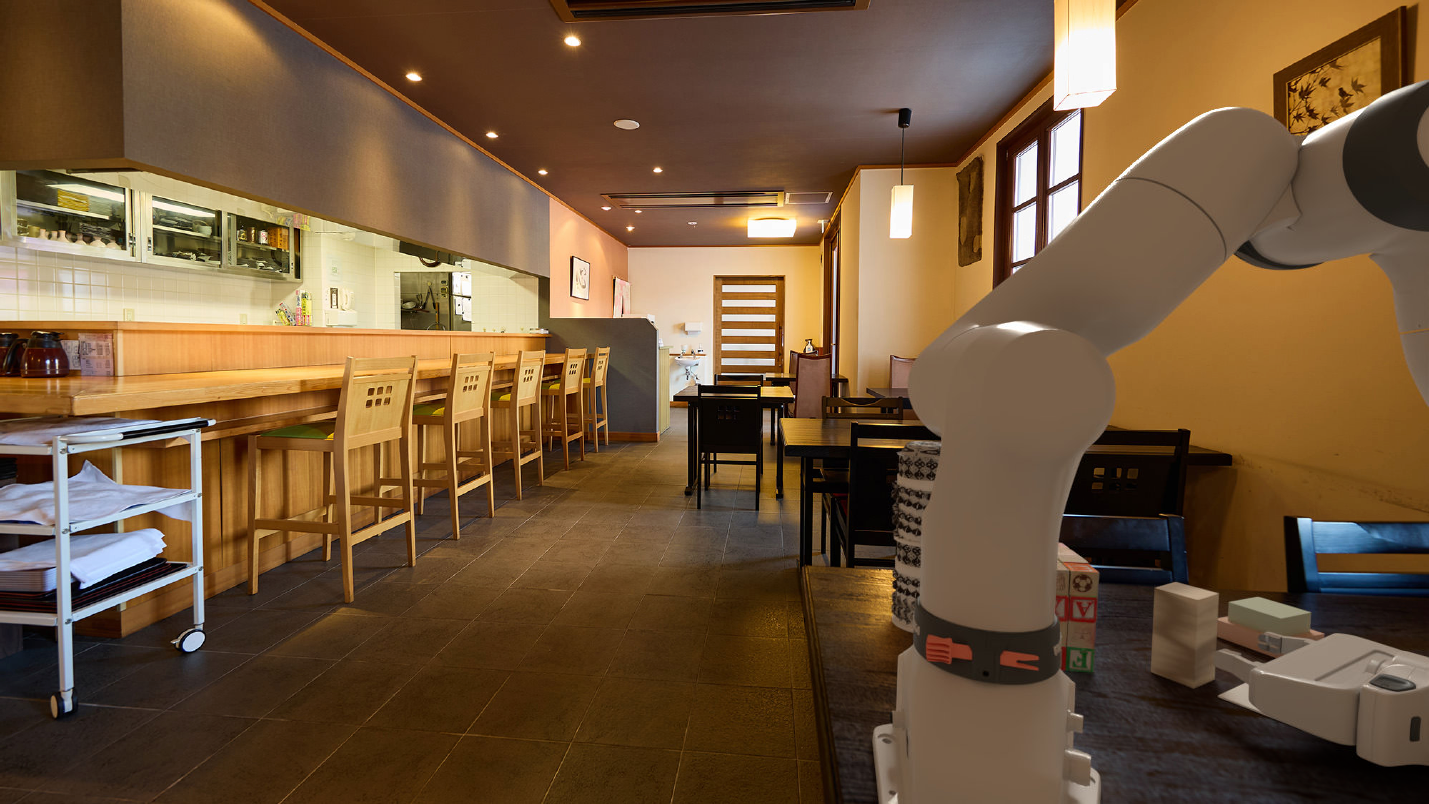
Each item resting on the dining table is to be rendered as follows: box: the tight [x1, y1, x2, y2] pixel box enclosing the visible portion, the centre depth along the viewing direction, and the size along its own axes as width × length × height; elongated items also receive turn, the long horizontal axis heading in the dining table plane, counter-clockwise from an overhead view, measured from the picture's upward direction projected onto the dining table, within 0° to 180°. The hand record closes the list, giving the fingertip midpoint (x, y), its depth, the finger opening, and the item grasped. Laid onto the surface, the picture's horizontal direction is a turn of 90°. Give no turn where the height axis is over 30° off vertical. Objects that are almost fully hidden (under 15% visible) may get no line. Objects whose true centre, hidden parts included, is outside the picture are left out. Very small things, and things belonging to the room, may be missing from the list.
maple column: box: [1150, 581, 1220, 689], centre depth 76 cm, size 4×4×10 cm
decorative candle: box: [890, 440, 941, 634], centre depth 91 cm, size 9×9×25 cm
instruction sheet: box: [1217, 682, 1285, 724], centre depth 71 cm, size 10×7×1 cm
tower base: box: [1217, 596, 1325, 659], centre depth 86 cm, size 8×8×5 cm
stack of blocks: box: [1055, 542, 1100, 674], centre depth 88 cm, size 21×6×12 cm, turn 170°
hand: (1239, 647), depth 71 cm, fingers open, 8 cm apart
